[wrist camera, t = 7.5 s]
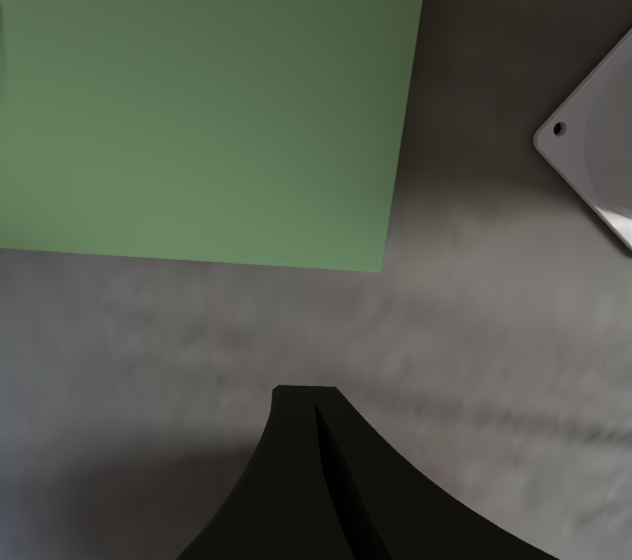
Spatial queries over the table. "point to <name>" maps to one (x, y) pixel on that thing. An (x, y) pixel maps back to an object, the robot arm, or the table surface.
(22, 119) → the green
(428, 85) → the table surface
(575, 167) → the robot arm
